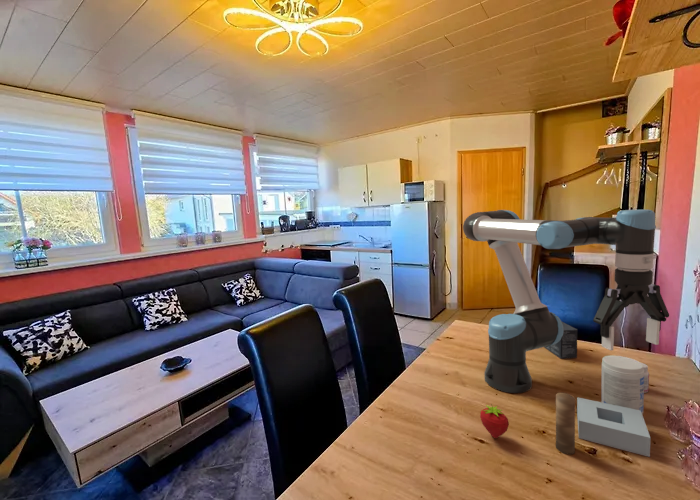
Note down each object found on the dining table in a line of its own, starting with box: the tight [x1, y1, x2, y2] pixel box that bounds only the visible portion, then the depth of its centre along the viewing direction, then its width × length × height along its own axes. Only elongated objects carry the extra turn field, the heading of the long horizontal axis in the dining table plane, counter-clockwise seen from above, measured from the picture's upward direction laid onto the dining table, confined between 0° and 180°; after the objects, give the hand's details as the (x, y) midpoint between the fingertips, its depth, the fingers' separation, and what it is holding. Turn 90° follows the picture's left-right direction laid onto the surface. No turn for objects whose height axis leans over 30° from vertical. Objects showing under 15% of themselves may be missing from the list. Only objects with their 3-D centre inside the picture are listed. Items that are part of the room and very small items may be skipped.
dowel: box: [555, 392, 576, 456], centre depth 81 cm, size 4×4×14 cm
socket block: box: [576, 397, 651, 458], centre depth 86 cm, size 14×12×5 cm
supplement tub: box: [601, 355, 645, 415], centre depth 95 cm, size 10×10×15 cm
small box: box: [543, 320, 578, 360], centre depth 134 cm, size 13×7×12 cm, turn 179°
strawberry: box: [479, 403, 510, 439], centre depth 87 cm, size 6×8×10 cm
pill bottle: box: [640, 362, 650, 394], centre depth 104 cm, size 5×5×8 cm
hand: (630, 345), depth 87 cm, fingers open, 13 cm apart
